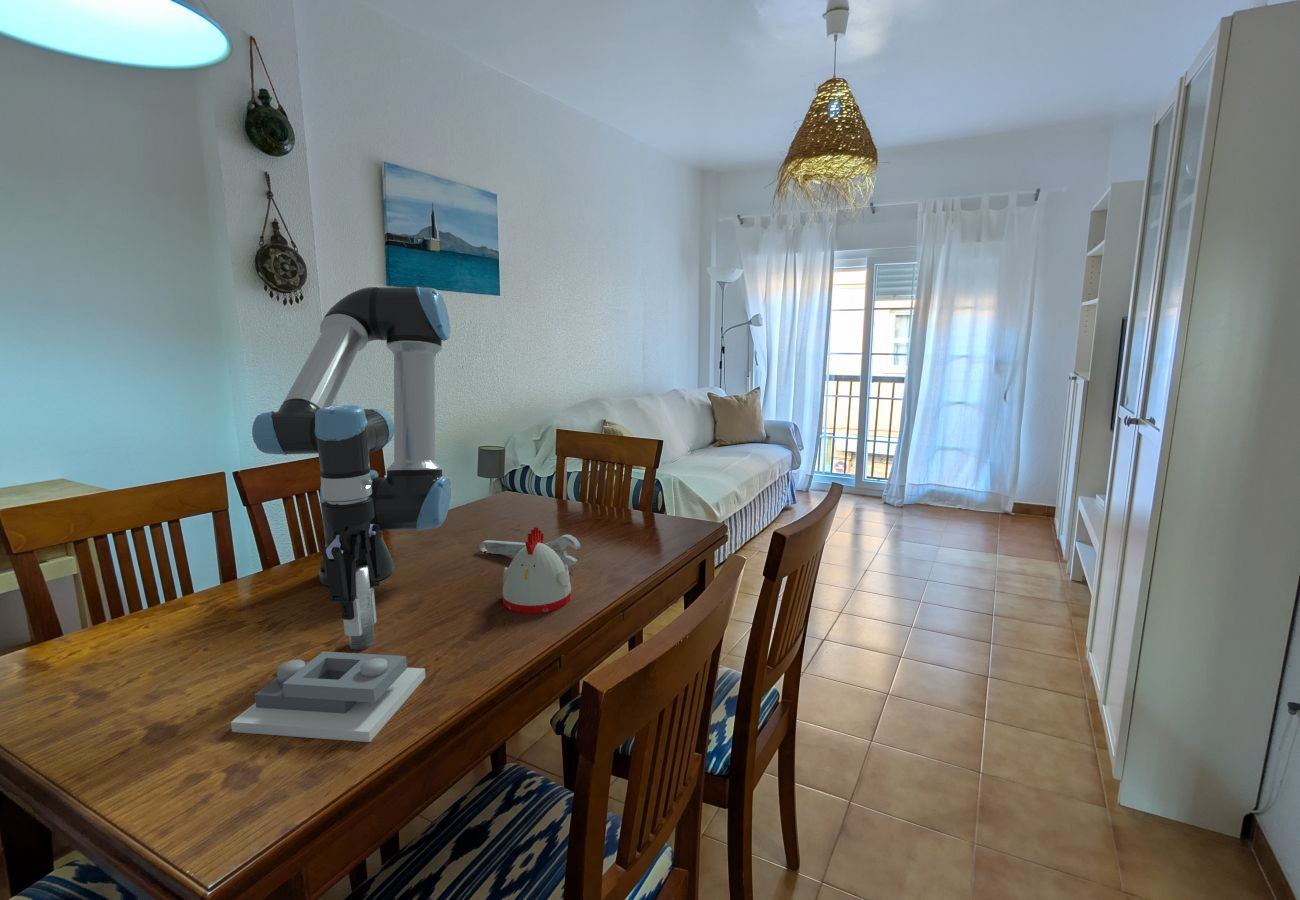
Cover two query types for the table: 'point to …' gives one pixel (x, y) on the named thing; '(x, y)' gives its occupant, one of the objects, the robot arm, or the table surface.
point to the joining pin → (363, 610)
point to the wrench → (515, 547)
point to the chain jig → (331, 697)
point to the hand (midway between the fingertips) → (361, 628)
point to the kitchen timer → (536, 578)
